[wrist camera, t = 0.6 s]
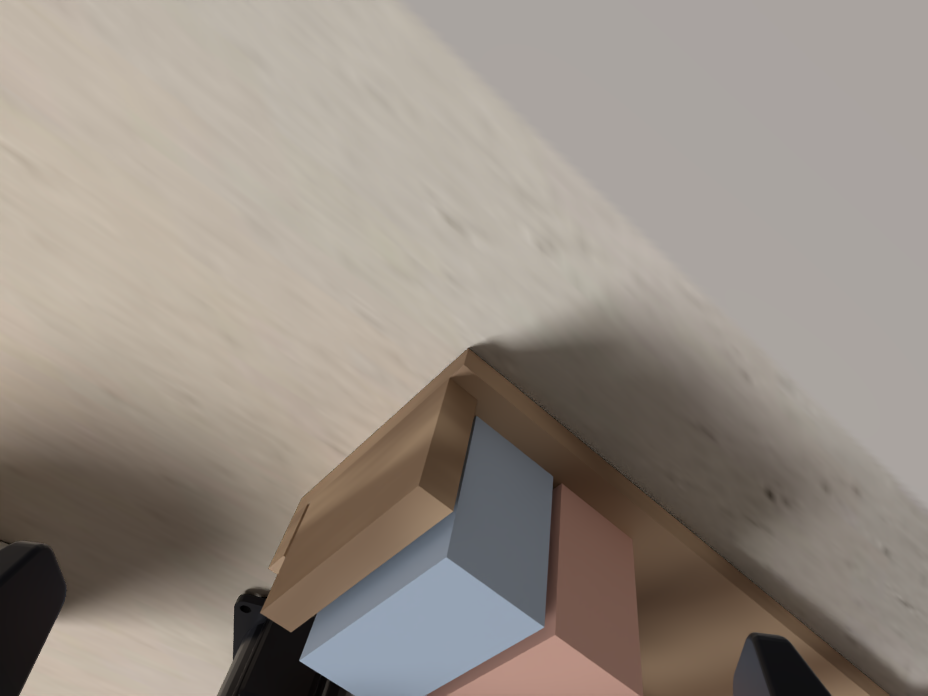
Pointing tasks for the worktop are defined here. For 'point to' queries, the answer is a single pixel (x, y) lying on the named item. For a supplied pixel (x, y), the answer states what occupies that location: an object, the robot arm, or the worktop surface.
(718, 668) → the wooden book rack
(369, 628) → the book blue
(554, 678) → the book brick
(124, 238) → the worktop surface
